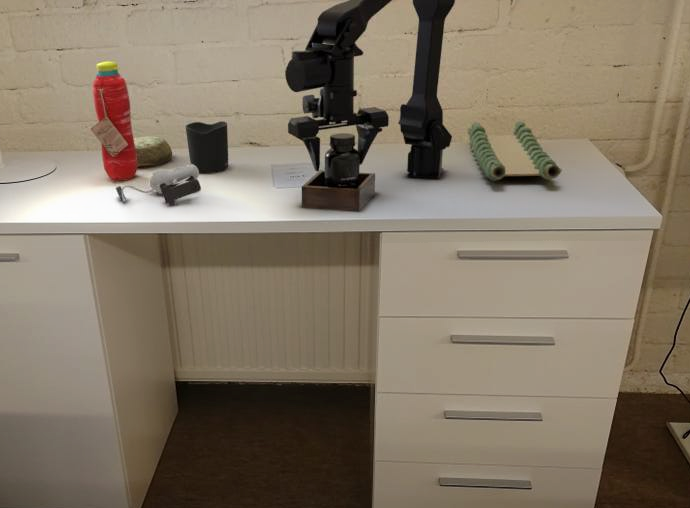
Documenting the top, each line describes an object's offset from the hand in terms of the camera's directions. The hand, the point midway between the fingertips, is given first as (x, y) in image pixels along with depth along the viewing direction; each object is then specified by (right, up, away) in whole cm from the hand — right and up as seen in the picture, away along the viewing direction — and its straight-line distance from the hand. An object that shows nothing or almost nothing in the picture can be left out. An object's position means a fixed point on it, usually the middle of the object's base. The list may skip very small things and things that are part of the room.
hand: (338, 167), depth 152 cm
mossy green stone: (-43, +11, +38) cm, 59 cm away
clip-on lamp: (-36, -4, +11) cm, 38 cm away
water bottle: (-47, +3, +25) cm, 54 cm away
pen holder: (-27, +7, +29) cm, 40 cm away
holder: (0, -6, +3) cm, 7 cm away
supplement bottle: (+1, -5, +3) cm, 6 cm away
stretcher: (+39, +5, +19) cm, 44 cm away
